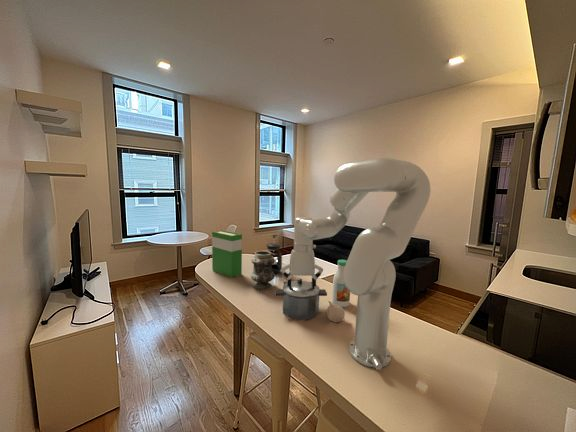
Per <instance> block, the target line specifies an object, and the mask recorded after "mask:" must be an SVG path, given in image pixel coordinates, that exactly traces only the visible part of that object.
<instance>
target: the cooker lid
mask: <svg viewBox="0 0 576 432" xmlns="http://www.w3.org/2000/svg"><path fill="white" fill-rule="evenodd" d="M311 282H312V281H306V280H303V279H302V278H298V279H297V280H291V289H289V286H287V283H286V284H284V283H283V285H282V289H283V291H284V292H285V293H286V294H287V295H290V296H293V297H299V298H308V297H313V296H316V295H317V294H318V293H319V289H320V287H319V285H318V284H316V286H315V288H314V289H312V283H311Z"/></svg>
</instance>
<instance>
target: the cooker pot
mask: <svg viewBox="0 0 576 432" xmlns="http://www.w3.org/2000/svg"><path fill="white" fill-rule="evenodd" d="M310 282H311V283H312V281H310ZM286 283H287V281H283V285H284V284H286ZM275 296H277V297H282V313H283V314H284V315H285V316H286V317H287V318H289V319H292V320H295V321H309V320H312V319H315V318H316V317H317V315H319V308H320V297H327V296H328V292H327V290H326V289H325V288H323V289H321V288H319V293H318V294H317V295H316V296H313V297H308V298H299V297H293V296H290V295H287V294H286V293H285V292H284V291H283V288H282V289H278V288H276V289H275Z"/></svg>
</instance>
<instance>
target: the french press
mask: <svg viewBox="0 0 576 432" xmlns="http://www.w3.org/2000/svg"><path fill="white" fill-rule="evenodd" d="M270 236H271V237H272V238H273V239H276V237H278V234H270ZM281 247H282V244H281V243H276V242H271V243H267V244H266V249H267V250H269V252H271V255H272V257H273V258H274V263H273V264H272V272H273V273H274V276H276V275H280V274H281V272H282V271H281V268H282V267H283V266H282V265H283V263H282V262H283V259H282V258H283V255H282V252H281V251H279V250H281ZM275 258H276V259H275Z"/></svg>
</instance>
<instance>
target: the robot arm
mask: <svg viewBox="0 0 576 432" xmlns="http://www.w3.org/2000/svg"><path fill="white" fill-rule="evenodd" d="M333 177H334V178H333V182H334V185H335V190H334V191H333V192H332V193H331V195H330V196H329V202H330V204H331V206H332V208H333V211H332V212H331V213H330V214H329V215H328V216H327V217H325V218H324V217H323V218H315V219H313V218H312V217H308V216H297V217H295V219H294V224H293V225H294V227H293V228H294V229H293V231H294V233H293V249H292V250H291V252H290V257H289V263H288V264H286V265H284V266H282V268H281V272H282V274H283V276H284V277H285V279H287V281H286V282H287V286H289V289H291V281H292V278H293V276H295V277H296V276H311V282H312V289H314V288H315V286H316V285H317V280H318V278H319V277H321V275H322V274H323V272H324V268H323V267H321V266H320V265H318V264H316V262H315V261H316V259H315V258H316V257H315V252H314V249H316V248H317V245H316V244H314V243H313V242H314V240H320V239H326V238H331V237H334V236H335V235H337V234H338V233H339V232H340V231H341V230H342V229H343V228H344V227H345V226H346V224H347V223H348V221H349V218H350V216H351V211H353V210H354V208H355V207H356V206H357V205H358V204H359V203H360V202H362V200H363V199H364V198H365V197H366V196H367V195H368V194H369V193H371V192H373V193H377V192H378V193H379V192H381V193H382V192H384V193H387V192H389V193H391V192H392V193H396V194H395V197H394V198H393V200H392V201H391V202H390V204H389V205H388V207H387V209H386V211H385V213H384V216H383V218H382V220H381V222H380V223H379V224H378V225H376V226H373V227H369V228H366V229H364V230H363V231H361V232H360V233H359V234H358V236H357V237H356V239H355V241H354V243H353V245H352V248H351V250H350V253H349V255H348V258H347V263H346V265H345V268H344V272H343V281H344V284H345V287H346V288H347V290H348V291H349V292H350V294H353V295H355V296H357V303H356V317H355V330H354V331H355V332H354V339H353V340H352V341H351V342H350V343H349V346H348V351H349V353H350V355H351V357H352V358H353V359H354V360H355V361H356V362H358V363H360V364H362V365H363V366H365V367H368V368H374V369H375V370H377V371H381V370H382V369H383V368H384V367H387V366H389V365H390V363H391V362H392V354H391V351H390V350H389V348H388V346H387V345H388V332H389V323H390V311H391V301H392V294H393V291H394V287H395V282H396V276H397V275H396V268H395V265H394V263H393V262H392V261H391V260H393V259H395V258H398V257H400V256H401V255H403V253H404V252H405V251H406V248H407V246H408V245H409V242H410V240H411V238H412V236H413V233H414V231H416V228H417V225H418V223H419V221H420V219H421V217H422V216H423V213H424V211H425V209H426V207H427V205H428V202H429V200H430V196H431V183H430V180H429V178H428V175H427V174H426V172H425V171H424V170H423V169H422V168H421V167H420V166H419V165H416V163H413V162H410V161H406V160H402V159H396V158H390V157H380V158H379V157H378V158H373V159H364V160H360V161H353V162H352V161H351V162H347V163H344V164H342V165H341V166H339V168H338V169H337V170H336V171H335V174H334V176H333ZM315 269H316V270H317V272H316V270H315ZM287 270H289V273H287Z"/></svg>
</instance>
